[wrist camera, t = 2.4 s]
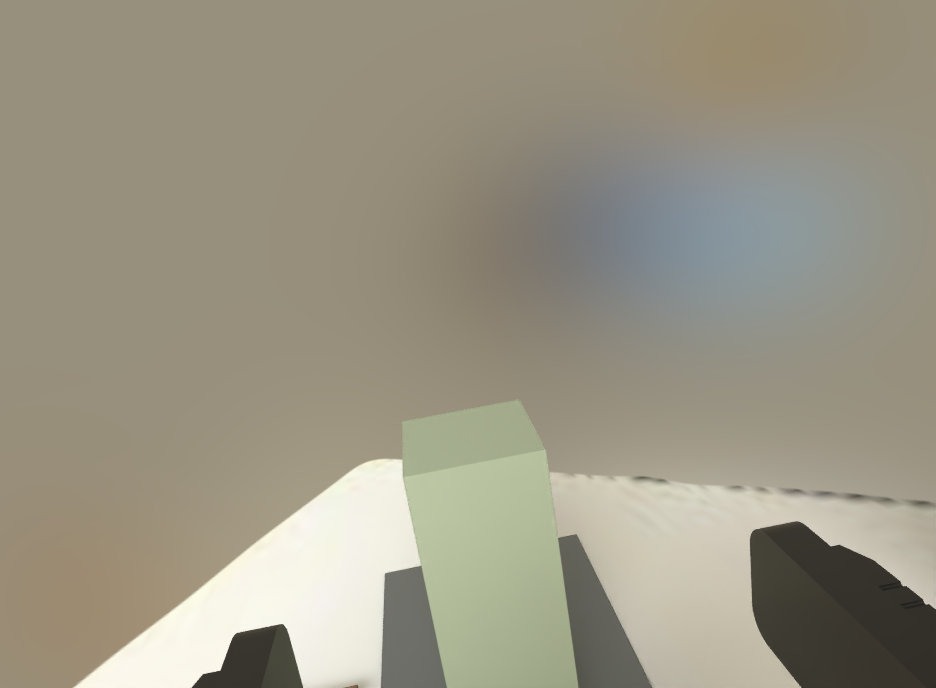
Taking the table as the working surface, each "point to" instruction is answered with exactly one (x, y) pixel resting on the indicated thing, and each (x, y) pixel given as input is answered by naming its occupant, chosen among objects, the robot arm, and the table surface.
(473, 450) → the sage block
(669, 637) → the table surface
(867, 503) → the table surface
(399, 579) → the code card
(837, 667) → the robot arm
